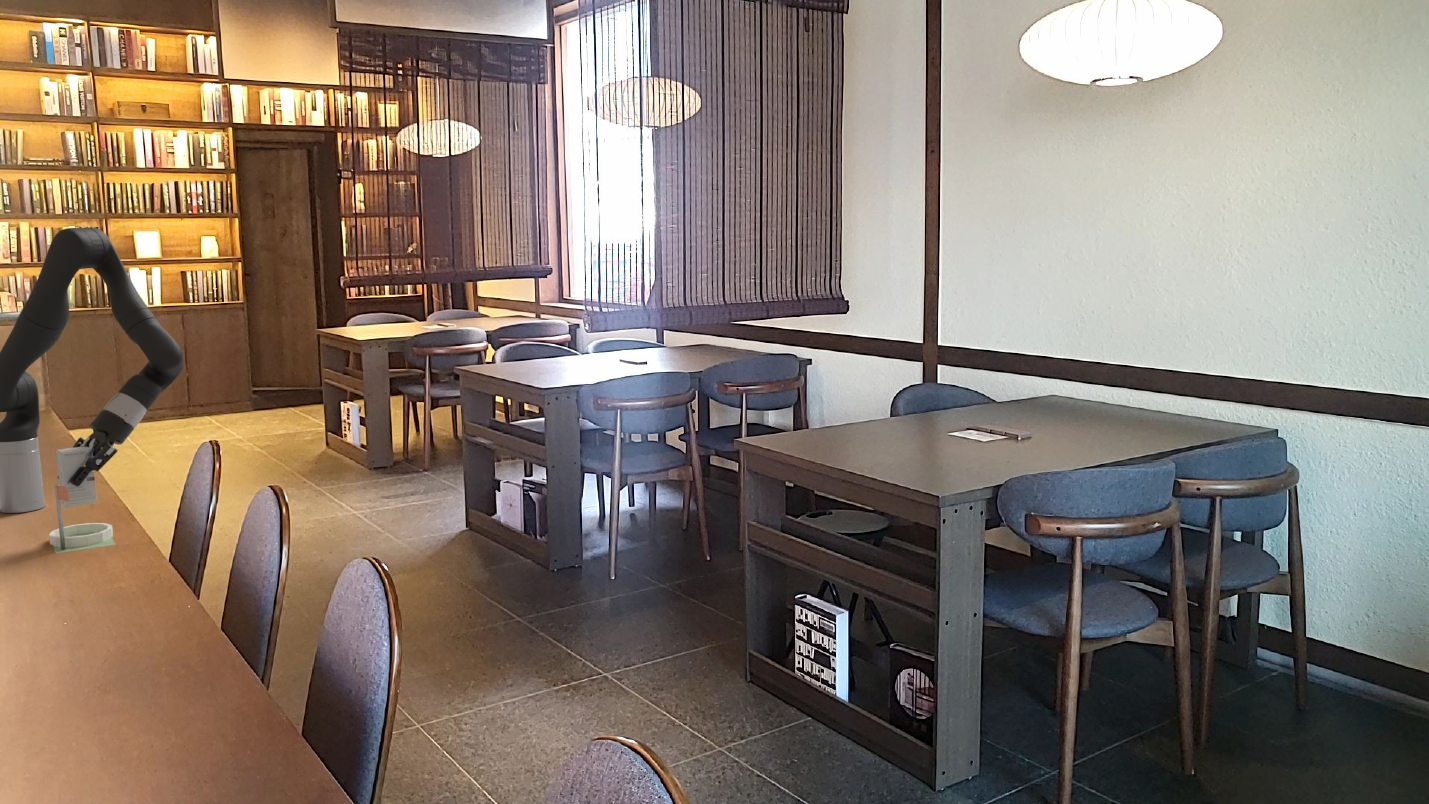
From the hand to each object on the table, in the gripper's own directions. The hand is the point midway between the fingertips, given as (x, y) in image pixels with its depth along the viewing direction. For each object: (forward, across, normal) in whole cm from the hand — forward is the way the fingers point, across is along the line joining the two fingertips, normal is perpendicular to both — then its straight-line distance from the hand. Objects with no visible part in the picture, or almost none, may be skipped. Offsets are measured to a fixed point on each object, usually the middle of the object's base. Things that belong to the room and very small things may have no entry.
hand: (67, 482), depth 235 cm
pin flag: (+12, +7, +6) cm, 15 cm away
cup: (+8, 0, +10) cm, 13 cm away
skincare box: (+2, 0, +5) cm, 6 cm away
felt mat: (+8, 0, +11) cm, 13 cm away
